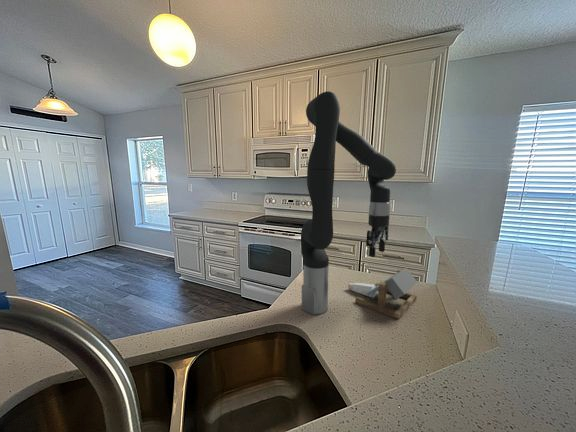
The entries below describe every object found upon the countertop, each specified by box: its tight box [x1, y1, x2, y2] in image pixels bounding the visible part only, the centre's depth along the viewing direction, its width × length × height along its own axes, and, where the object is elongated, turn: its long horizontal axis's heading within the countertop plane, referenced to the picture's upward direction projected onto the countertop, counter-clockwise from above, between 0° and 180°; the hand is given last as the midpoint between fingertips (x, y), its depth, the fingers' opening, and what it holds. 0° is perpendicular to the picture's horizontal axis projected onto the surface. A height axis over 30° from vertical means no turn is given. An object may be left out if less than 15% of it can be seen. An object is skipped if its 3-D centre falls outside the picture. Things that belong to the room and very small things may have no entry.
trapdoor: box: [367, 267, 418, 300], centre depth 94 cm, size 14×13×7 cm
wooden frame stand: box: [355, 268, 418, 320], centre depth 96 cm, size 19×16×11 cm
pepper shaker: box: [347, 282, 377, 299], centre depth 103 cm, size 5×5×11 cm
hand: (376, 253), depth 97 cm, fingers open, 8 cm apart
